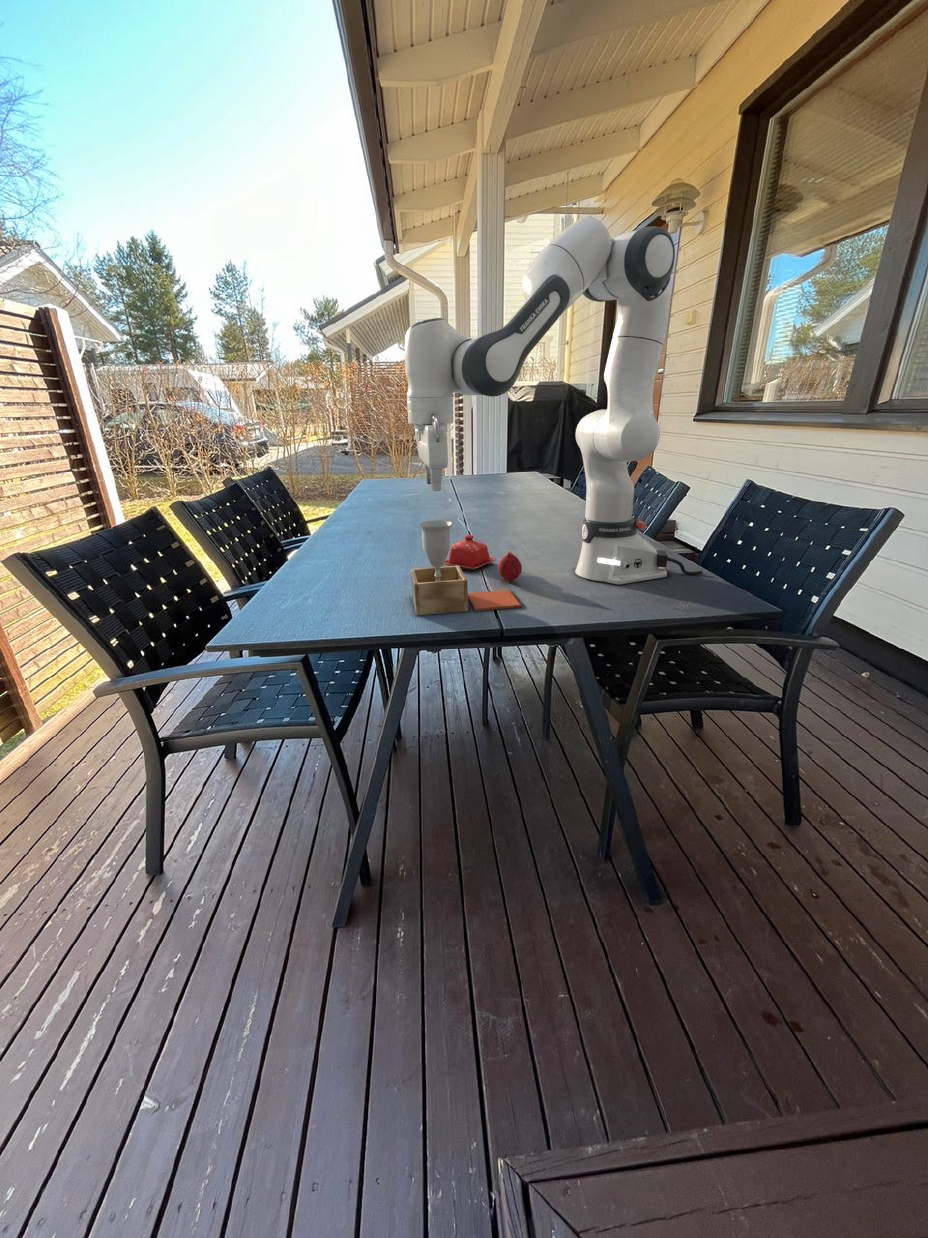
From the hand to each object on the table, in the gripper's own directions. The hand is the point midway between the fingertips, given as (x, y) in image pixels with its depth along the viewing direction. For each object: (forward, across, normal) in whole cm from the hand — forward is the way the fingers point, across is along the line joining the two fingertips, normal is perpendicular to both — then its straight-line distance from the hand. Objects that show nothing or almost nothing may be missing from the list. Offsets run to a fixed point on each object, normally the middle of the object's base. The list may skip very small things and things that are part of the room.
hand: (433, 487), depth 107 cm
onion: (+26, +11, -19) cm, 34 cm away
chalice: (+26, 0, 0) cm, 26 cm away
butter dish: (+26, +28, -12) cm, 40 cm away
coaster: (+26, -1, -12) cm, 28 cm away
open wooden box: (+26, 0, 0) cm, 26 cm away
